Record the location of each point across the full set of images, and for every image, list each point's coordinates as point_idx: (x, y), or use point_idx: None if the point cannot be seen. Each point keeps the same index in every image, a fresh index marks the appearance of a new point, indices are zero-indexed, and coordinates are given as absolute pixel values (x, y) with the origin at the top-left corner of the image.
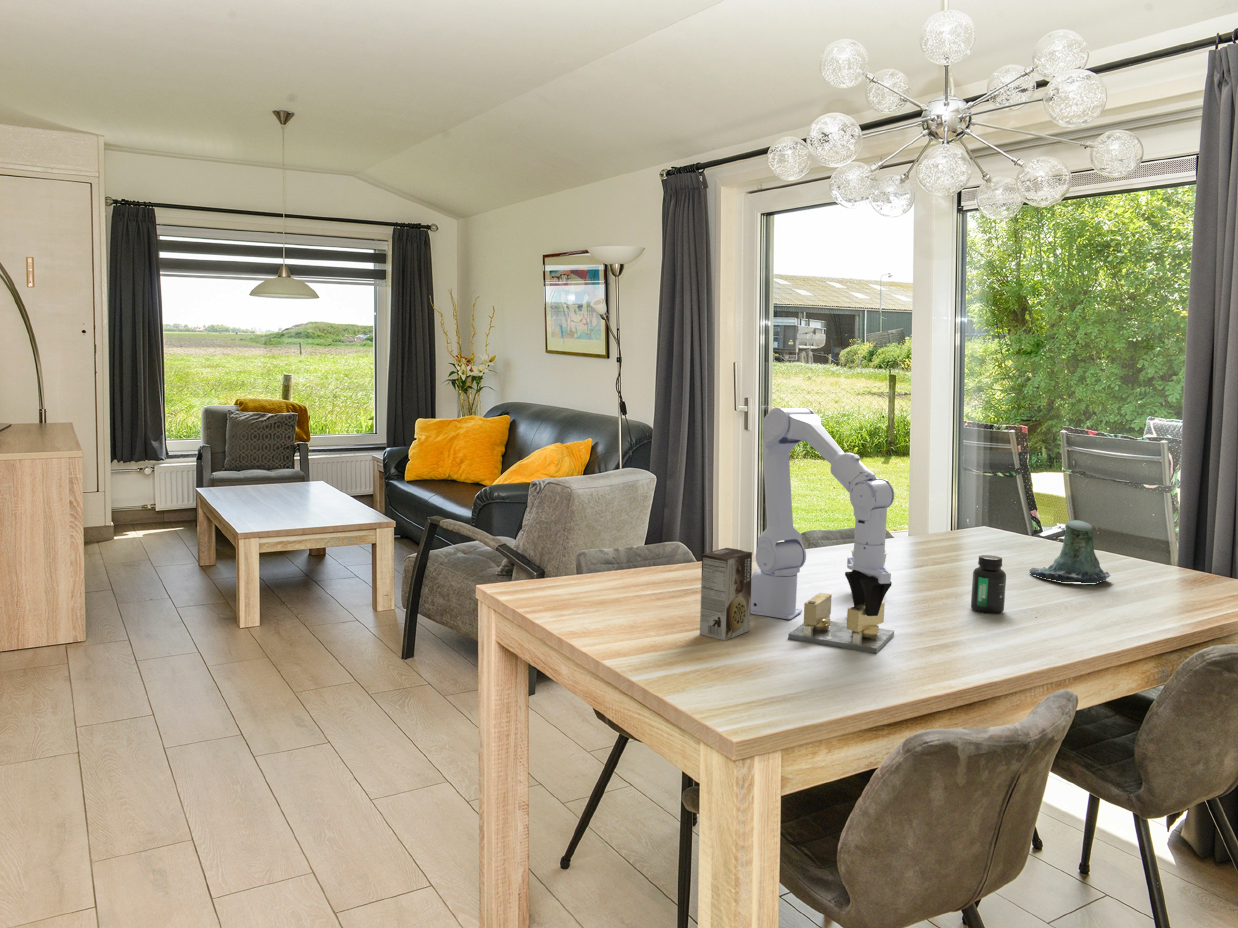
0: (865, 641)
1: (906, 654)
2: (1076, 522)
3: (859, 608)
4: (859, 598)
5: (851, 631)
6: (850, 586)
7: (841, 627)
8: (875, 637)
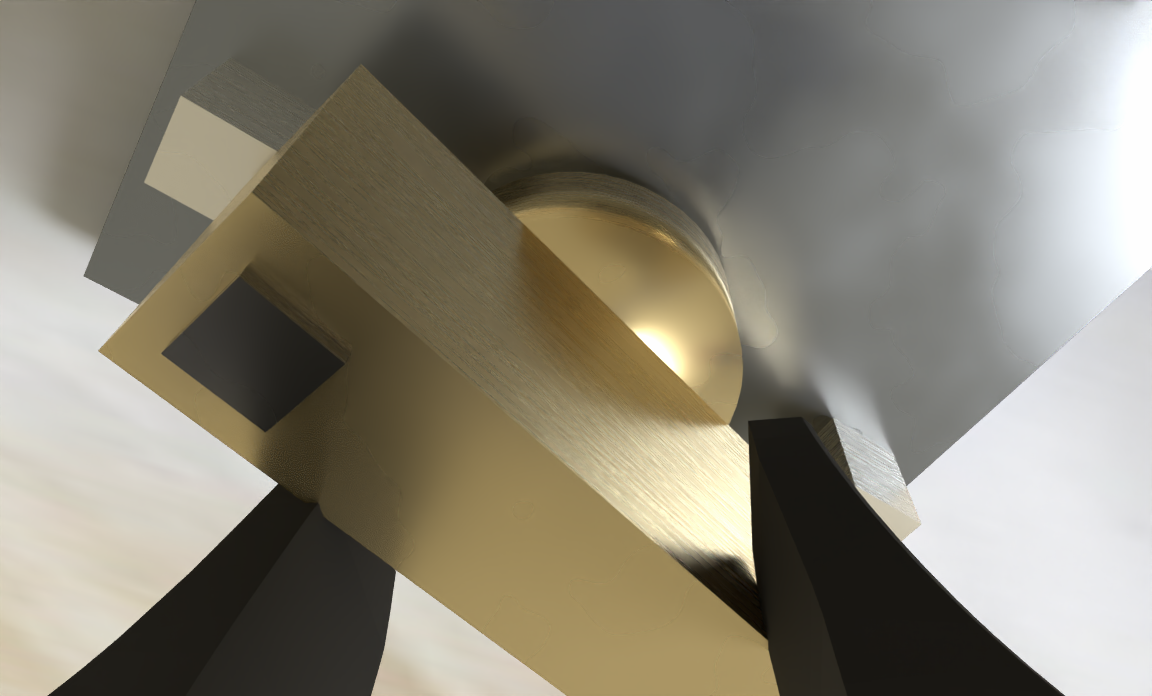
0: None
1: (162, 491)
2: None
3: (231, 407)
4: (779, 598)
5: (766, 215)
6: (1001, 675)
7: (974, 148)
8: None
